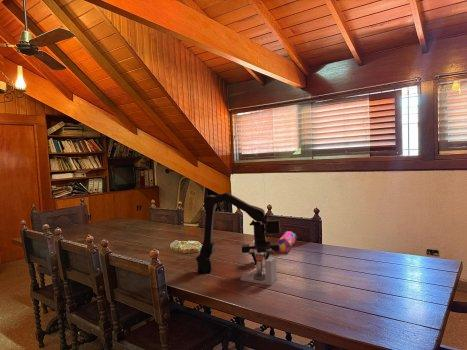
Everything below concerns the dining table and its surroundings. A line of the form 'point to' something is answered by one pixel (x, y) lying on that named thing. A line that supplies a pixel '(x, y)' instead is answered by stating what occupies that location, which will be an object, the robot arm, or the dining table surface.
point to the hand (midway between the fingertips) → (260, 264)
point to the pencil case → (286, 241)
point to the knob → (263, 259)
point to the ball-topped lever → (259, 269)
